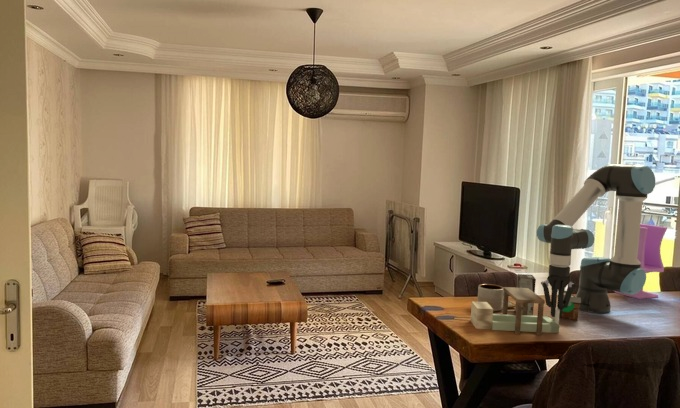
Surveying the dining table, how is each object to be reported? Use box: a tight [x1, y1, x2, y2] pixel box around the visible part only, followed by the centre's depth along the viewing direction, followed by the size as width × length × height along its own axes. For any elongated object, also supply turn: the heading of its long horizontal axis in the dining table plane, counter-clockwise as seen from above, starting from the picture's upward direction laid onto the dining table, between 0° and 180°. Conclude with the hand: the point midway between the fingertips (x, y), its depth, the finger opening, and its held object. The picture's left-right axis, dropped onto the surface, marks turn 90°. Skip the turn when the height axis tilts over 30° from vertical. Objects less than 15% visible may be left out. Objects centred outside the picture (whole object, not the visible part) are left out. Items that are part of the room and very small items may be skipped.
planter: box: [476, 283, 504, 312], centre depth 235 cm, size 11×11×10 cm
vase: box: [614, 223, 668, 300], centre depth 269 cm, size 16×16×35 cm
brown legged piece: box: [502, 286, 546, 336], centre depth 210 cm, size 10×19×13 cm, turn 178°
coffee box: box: [514, 273, 537, 316], centre depth 228 cm, size 9×6×16 cm
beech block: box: [470, 301, 494, 330], centre depth 211 cm, size 6×10×8 cm, turn 178°
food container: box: [557, 290, 581, 322], centre depth 225 cm, size 12×6×10 cm, turn 5°
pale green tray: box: [491, 313, 560, 334], centre depth 210 cm, size 25×12×3 cm, turn 88°
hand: (555, 324), depth 210 cm, fingers closed
